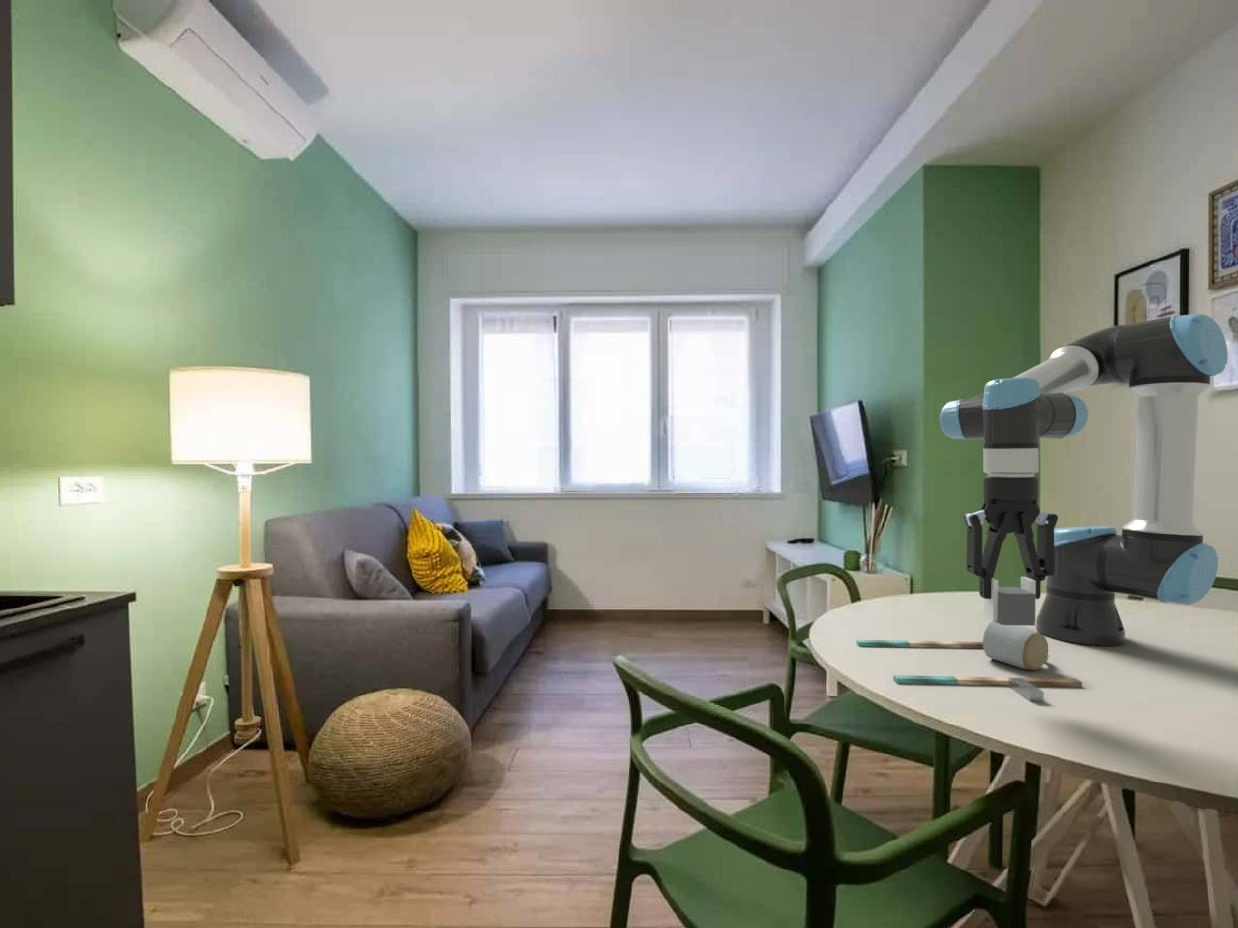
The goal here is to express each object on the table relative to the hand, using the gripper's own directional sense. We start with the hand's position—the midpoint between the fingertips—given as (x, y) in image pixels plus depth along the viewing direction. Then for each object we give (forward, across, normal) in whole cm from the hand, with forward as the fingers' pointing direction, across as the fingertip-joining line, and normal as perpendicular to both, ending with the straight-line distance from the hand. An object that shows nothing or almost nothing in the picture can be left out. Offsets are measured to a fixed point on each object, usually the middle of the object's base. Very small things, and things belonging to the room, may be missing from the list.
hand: (1009, 618), depth 99 cm
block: (0, 0, 0) cm, 0 cm away
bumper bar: (+12, -2, 0) cm, 12 cm away
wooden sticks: (+12, +2, -14) cm, 19 cm away
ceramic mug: (+13, -10, -14) cm, 22 cm away
